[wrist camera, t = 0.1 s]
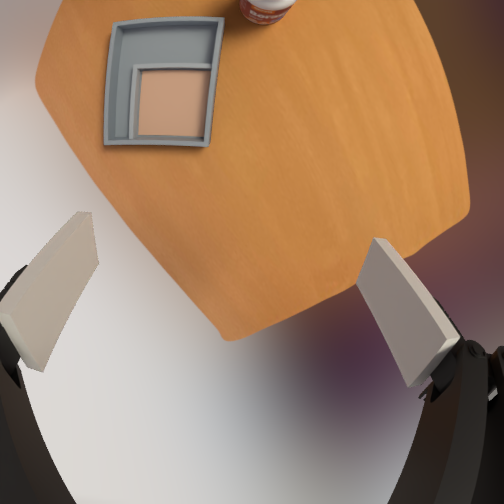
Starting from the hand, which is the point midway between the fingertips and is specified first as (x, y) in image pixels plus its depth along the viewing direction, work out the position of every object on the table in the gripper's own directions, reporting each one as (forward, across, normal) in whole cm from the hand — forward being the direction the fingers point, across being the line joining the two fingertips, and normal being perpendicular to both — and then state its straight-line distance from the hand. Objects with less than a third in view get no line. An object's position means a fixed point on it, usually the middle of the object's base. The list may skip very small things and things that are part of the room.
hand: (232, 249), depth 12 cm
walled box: (+28, -10, +8) cm, 31 cm away
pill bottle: (+28, +1, +20) cm, 35 cm away
